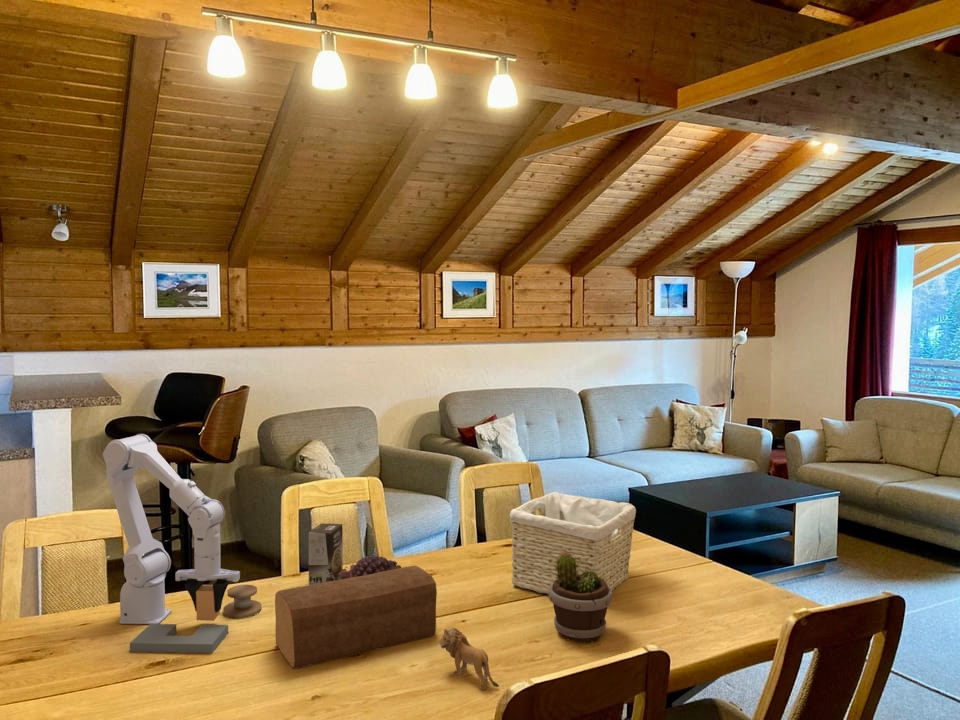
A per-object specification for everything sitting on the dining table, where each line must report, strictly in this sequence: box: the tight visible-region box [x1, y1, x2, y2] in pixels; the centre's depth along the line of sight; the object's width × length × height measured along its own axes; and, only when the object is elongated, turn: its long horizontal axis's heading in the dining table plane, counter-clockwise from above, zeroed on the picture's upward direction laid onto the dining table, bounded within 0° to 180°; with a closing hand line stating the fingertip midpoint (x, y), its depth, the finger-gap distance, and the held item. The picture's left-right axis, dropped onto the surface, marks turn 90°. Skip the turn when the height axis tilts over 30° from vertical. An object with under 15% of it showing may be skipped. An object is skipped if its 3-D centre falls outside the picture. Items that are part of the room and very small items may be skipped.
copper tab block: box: [196, 584, 221, 622], centre depth 180 cm, size 4×4×7 cm
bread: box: [274, 565, 438, 669], centre depth 172 cm, size 14×34×14 cm, turn 120°
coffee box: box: [308, 522, 344, 585], centre depth 205 cm, size 9×6×16 cm
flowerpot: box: [548, 549, 613, 643], centre depth 177 cm, size 14×15×20 cm
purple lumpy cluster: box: [337, 555, 403, 579], centre depth 201 cm, size 18×10×10 cm, turn 109°
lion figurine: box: [438, 626, 500, 691], centre depth 156 cm, size 15×5×9 cm, turn 52°
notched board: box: [129, 623, 229, 654], centre depth 171 cm, size 18×10×2 cm, turn 89°
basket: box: [509, 491, 637, 595], centre depth 209 cm, size 27×27×22 cm
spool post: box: [222, 584, 262, 619], centre depth 189 cm, size 9×9×5 cm
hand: (208, 610), depth 180 cm, fingers closed on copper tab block, 4 cm apart
